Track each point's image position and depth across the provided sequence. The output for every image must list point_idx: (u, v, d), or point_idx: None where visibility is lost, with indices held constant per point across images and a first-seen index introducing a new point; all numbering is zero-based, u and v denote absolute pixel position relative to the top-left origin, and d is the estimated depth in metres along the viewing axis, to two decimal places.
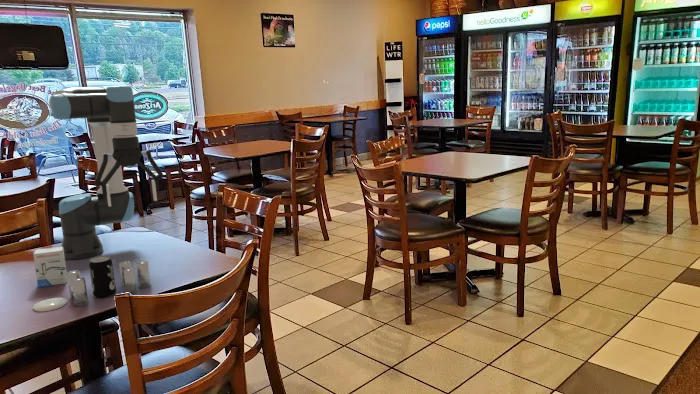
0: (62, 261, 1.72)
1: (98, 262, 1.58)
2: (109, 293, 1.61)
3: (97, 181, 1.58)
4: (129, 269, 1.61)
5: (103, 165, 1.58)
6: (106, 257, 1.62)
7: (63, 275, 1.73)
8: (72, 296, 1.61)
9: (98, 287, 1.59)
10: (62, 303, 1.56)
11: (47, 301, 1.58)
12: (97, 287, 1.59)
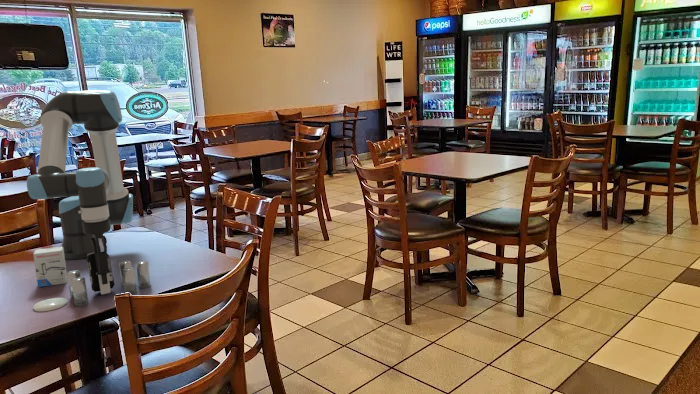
0: (62, 261, 1.72)
1: None
2: None
3: (96, 265, 1.61)
4: (129, 269, 1.61)
5: None
6: None
7: (63, 275, 1.73)
8: (72, 296, 1.61)
9: (95, 278, 1.61)
10: (62, 303, 1.56)
11: (47, 301, 1.58)
12: (95, 278, 1.61)
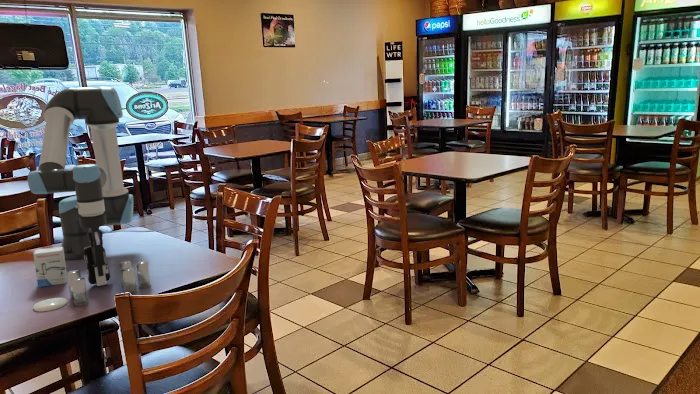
0: (62, 261, 1.72)
1: None
2: None
3: None
4: (129, 269, 1.61)
5: None
6: None
7: (63, 275, 1.73)
8: (72, 296, 1.61)
9: (92, 270, 1.67)
10: (62, 303, 1.56)
11: (47, 301, 1.58)
12: (91, 270, 1.67)
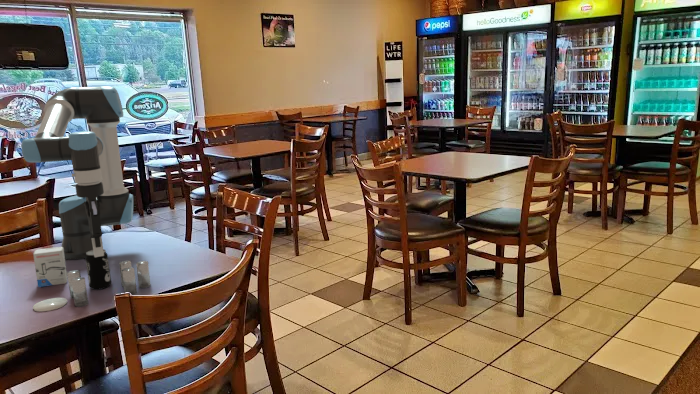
0: (62, 261, 1.72)
1: None
2: (104, 285, 1.68)
3: (89, 229, 1.63)
4: (129, 269, 1.61)
5: None
6: None
7: (63, 275, 1.73)
8: (72, 296, 1.61)
9: (94, 279, 1.66)
10: (62, 303, 1.56)
11: (47, 301, 1.58)
12: (93, 279, 1.66)
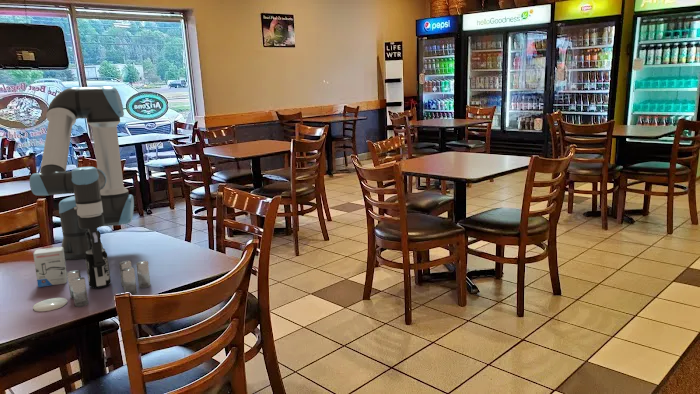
0: (62, 261, 1.72)
1: None
2: None
3: None
4: (129, 269, 1.61)
5: None
6: None
7: (63, 275, 1.73)
8: (72, 296, 1.61)
9: (93, 278, 1.67)
10: (62, 303, 1.56)
11: (47, 301, 1.58)
12: (92, 278, 1.67)
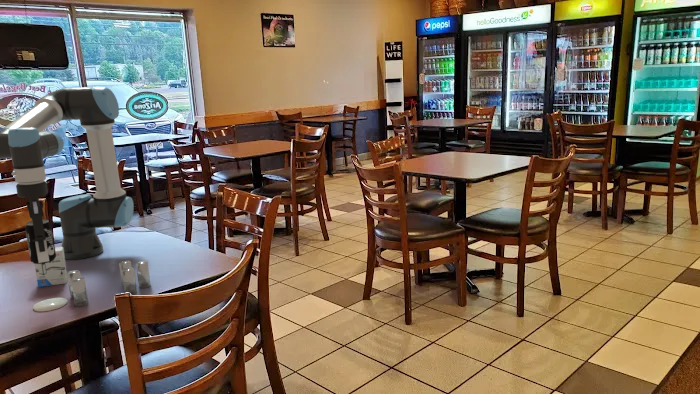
0: (62, 261, 1.72)
1: None
2: None
3: None
4: (129, 269, 1.61)
5: None
6: (45, 221, 1.52)
7: (63, 275, 1.73)
8: (72, 296, 1.61)
9: (34, 252, 1.49)
10: (62, 303, 1.56)
11: (47, 301, 1.58)
12: (33, 252, 1.49)
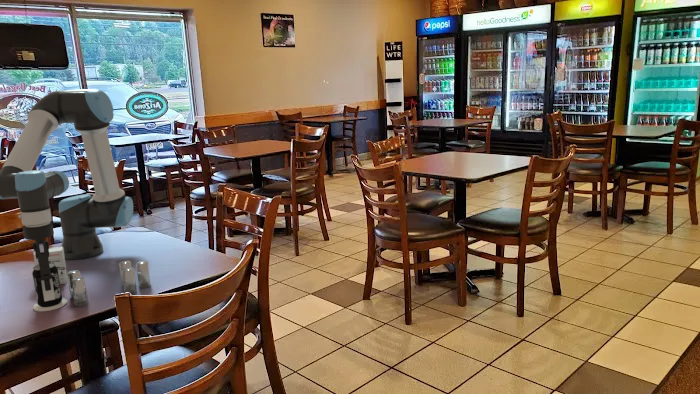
0: (62, 261, 1.72)
1: None
2: (54, 302, 1.54)
3: (38, 260, 1.60)
4: (129, 269, 1.61)
5: None
6: (51, 264, 1.55)
7: (63, 275, 1.73)
8: (72, 296, 1.61)
9: (41, 296, 1.52)
10: (62, 303, 1.56)
11: None
12: (40, 296, 1.52)
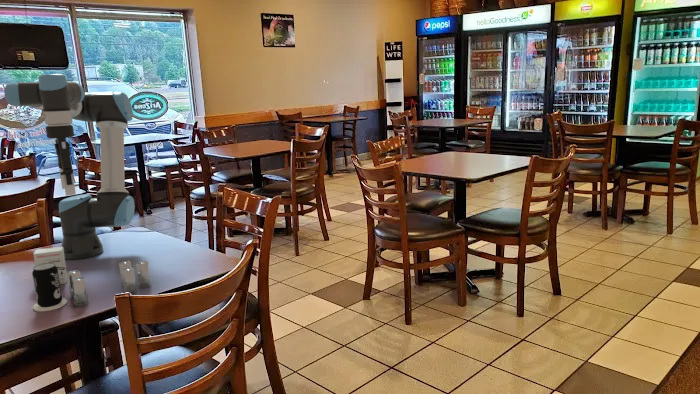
0: (62, 261, 1.72)
1: (41, 270, 1.51)
2: (54, 302, 1.54)
3: (58, 163, 1.71)
4: (129, 269, 1.61)
5: None
6: (51, 264, 1.55)
7: (63, 275, 1.73)
8: (72, 296, 1.61)
9: (41, 296, 1.52)
10: (62, 303, 1.56)
11: None
12: (40, 296, 1.52)
